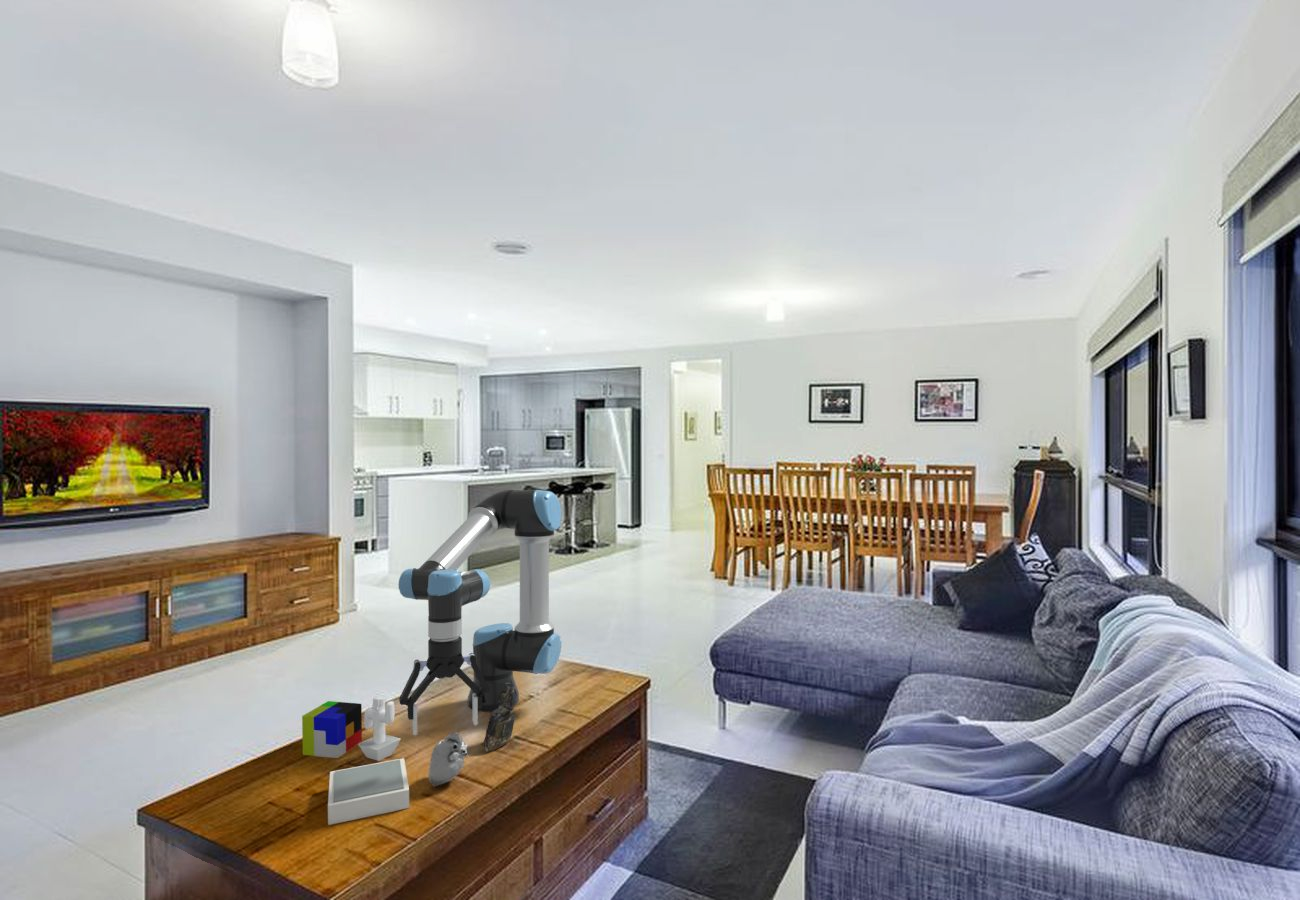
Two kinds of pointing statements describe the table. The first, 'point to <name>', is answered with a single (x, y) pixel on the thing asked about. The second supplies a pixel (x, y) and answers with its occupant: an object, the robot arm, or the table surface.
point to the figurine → (379, 730)
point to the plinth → (367, 791)
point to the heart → (447, 759)
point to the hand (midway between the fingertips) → (445, 727)
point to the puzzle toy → (332, 729)
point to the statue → (501, 720)
